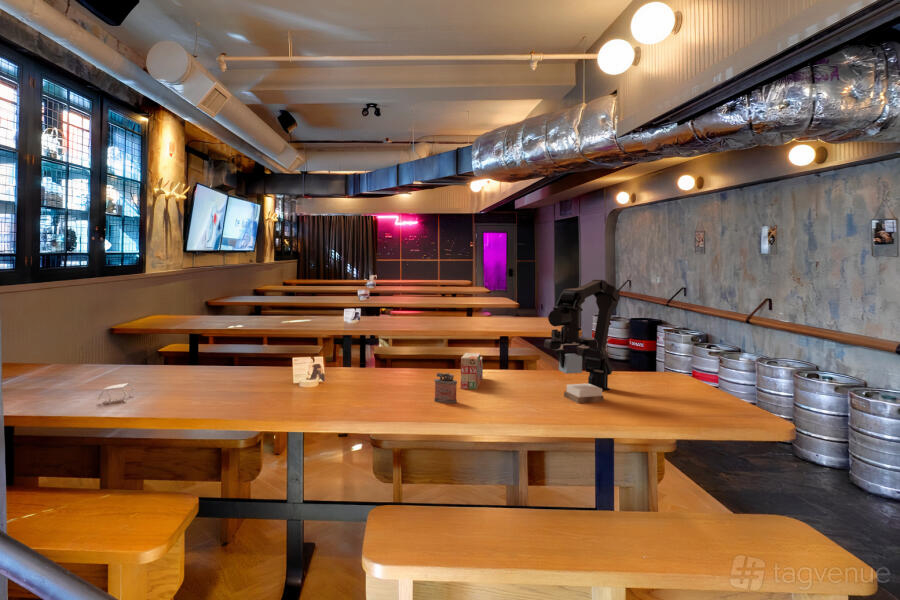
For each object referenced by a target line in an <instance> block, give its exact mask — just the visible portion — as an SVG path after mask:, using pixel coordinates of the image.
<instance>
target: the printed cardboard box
mask: <svg viewBox="0 0 900 600" xmlns="http://www.w3.org/2000/svg"><path fill="white" fill-rule="evenodd" d="M483 370H484V367H483V356H481V352H465V353H464V355H462V356H461V358H460V389H461V390H477V389H478V387H479V386H480V383H481V382H482V380H483V374H484V373H483V372H484V371H483Z"/></svg>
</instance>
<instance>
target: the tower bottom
mask: <svg viewBox="0 0 900 600" xmlns="http://www.w3.org/2000/svg"><path fill="white" fill-rule="evenodd" d="M563 397H564V398H566V399H568V400H570V401H572V402H574V403H577V404H587V403H601V402H604V395H602V396H593V397H578V396H575V395H573V394H571V393H569V392H567V390H564V391H563Z"/></svg>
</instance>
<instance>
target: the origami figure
mask: <svg viewBox="0 0 900 600" xmlns="http://www.w3.org/2000/svg"><path fill="white" fill-rule="evenodd" d="M127 387H129V388H131V389H132V390H131V391H130V392H129V393H127V391H125V388H127ZM114 390H122V392H123V394H124V396H123V398H122V400H123V402H126V399H125V398H126V397H127V395H128V396H129V397H131V398H132V397H133V396H132V395H131V394H132V393H133V392H134V391H135V390H136V388H135V387H134V386H133V385H131V382H127V383H120V384H119V383H118V384H115V385H109V386H107V387H105V388H102V389H101V393H100V394H99V396H98V398H97V399H98V400H101V401H102V404H104V403H105V402H106V400H105V399H103V398H101V397H102V396H103V395H104V393H105V392H106V394H107V395H108V397H109V400H108V401H111V399H112V396H111V394H110V392H109V391H114Z"/></svg>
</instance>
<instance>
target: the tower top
mask: <svg viewBox="0 0 900 600" xmlns="http://www.w3.org/2000/svg"><path fill="white" fill-rule="evenodd" d="M566 391H567V392H569V393H571V394H573V395H575V396H578V397H593V396H603V390H602V389H601V388H599V387H596V386H594V385H591V384H589V383H576V384H575V383H574V384H566Z"/></svg>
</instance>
